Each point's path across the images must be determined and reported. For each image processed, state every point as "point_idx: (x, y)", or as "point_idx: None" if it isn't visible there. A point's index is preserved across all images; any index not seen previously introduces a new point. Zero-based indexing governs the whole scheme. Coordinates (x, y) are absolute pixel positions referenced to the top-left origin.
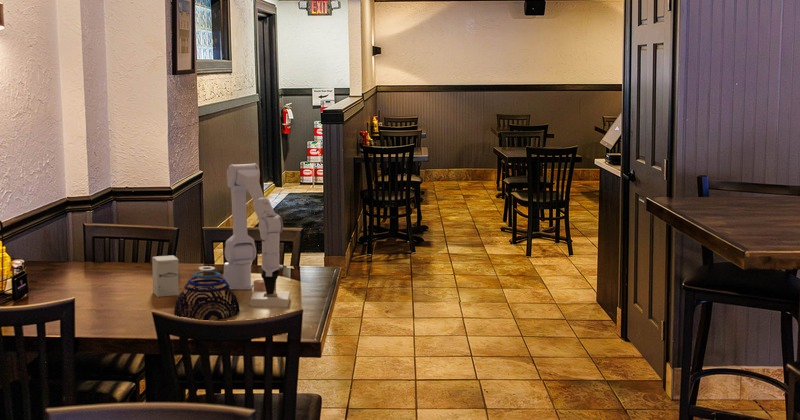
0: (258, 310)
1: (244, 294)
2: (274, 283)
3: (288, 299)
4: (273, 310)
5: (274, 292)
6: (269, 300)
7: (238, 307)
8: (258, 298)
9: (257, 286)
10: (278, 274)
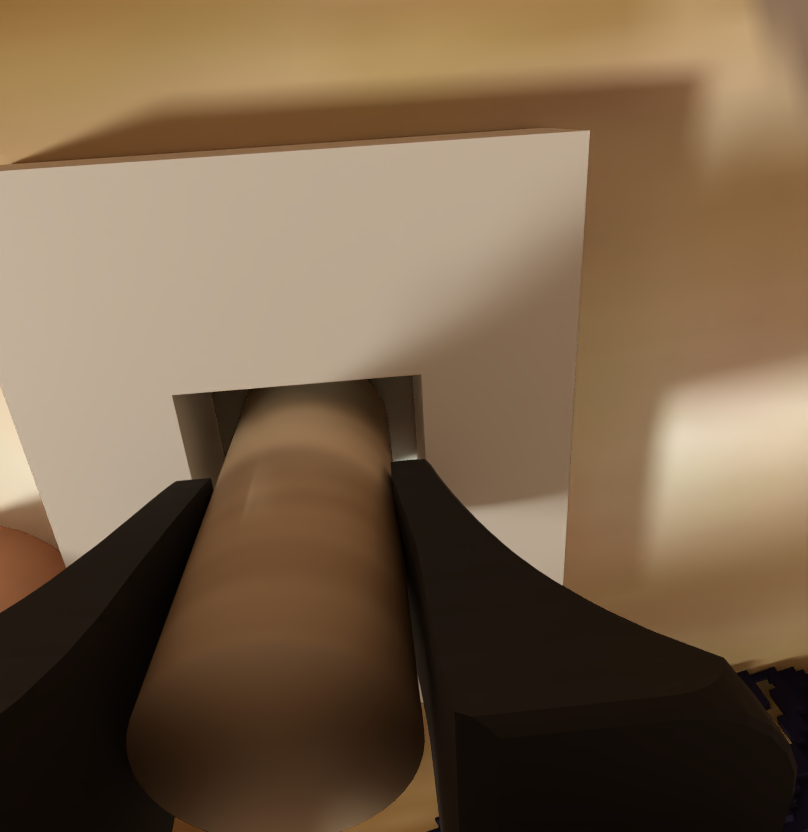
0: (700, 507)
1: None
2: (537, 576)
3: (334, 145)
4: (723, 327)
5: (364, 452)
6: (565, 454)
7: (802, 720)
8: None
9: None
10: (599, 723)
